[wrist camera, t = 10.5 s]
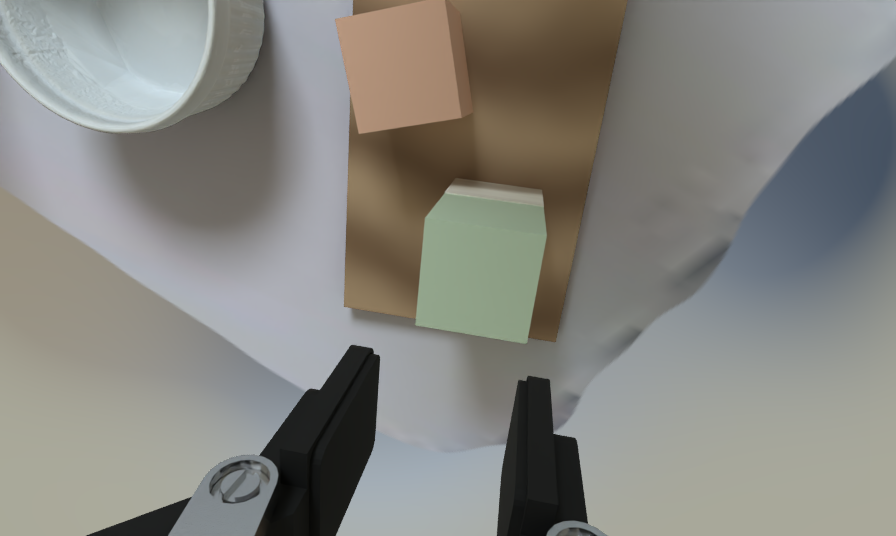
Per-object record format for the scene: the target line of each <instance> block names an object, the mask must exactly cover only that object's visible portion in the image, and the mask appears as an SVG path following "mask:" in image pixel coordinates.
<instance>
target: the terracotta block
mask: <svg viewBox="0 0 896 536" xmlns="http://www.w3.org/2000/svg"><path fill="white" fill-rule="evenodd" d="M335 22H336V26H337V31H338V36H339V41H340V46H341V50H342V55H343V60H344V65H345V70H346V74H347V79H348V84H349V89H350V94H351V99H352V103H353V108H354V113H355V118H356V123H357V127H358V132H359V134H362V133H368V132H375V131H381V130H387V129H394V128H400V127H407V126H413V125H420V124H426V123H432V122H439V121H445V120H452V119H458V118H462V117H465V116H467V115H469V114H471V113H473V107H472V100H471V92H470V85H469V77H468V69H467V62H466V54H465V47H464V39H463V32H462V24H461V17H460V12H459V11H458V10H457V9H456V8H455V7H454V6H453V5H452V4H451V3H450V2H449V1H448V0H425V1H420V2H415V3H411V4H406V5H401V6H396V7H391V8H386V9H382V10H377V11H372V12H367V13H362V14H357V15H353V16H348V17H343V18H338V19H335Z"/></svg>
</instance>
